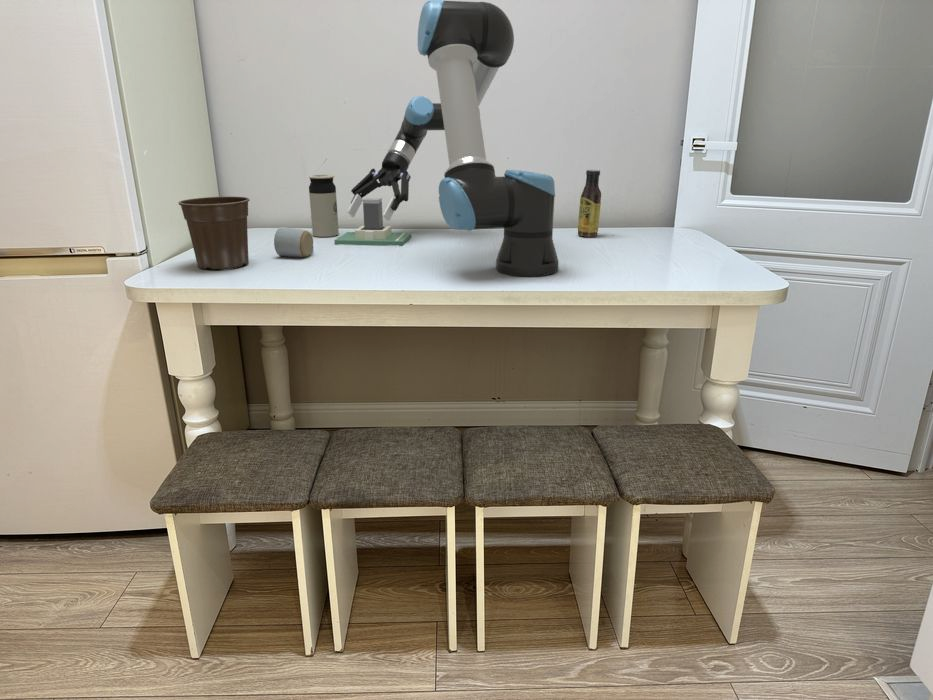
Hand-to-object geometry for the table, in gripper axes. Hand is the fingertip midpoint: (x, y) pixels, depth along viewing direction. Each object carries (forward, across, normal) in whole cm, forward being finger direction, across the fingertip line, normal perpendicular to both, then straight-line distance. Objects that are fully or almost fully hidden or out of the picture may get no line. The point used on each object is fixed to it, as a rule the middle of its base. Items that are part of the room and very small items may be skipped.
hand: (367, 216), depth 188 cm
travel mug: (+5, +18, -6) cm, 20 cm away
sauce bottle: (-26, -51, -36) cm, 67 cm away
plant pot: (+36, +10, +25) cm, 45 cm away
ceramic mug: (+23, +4, +12) cm, 26 cm away
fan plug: (+3, 0, -6) cm, 7 cm away
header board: (+4, 0, -7) cm, 8 cm away
